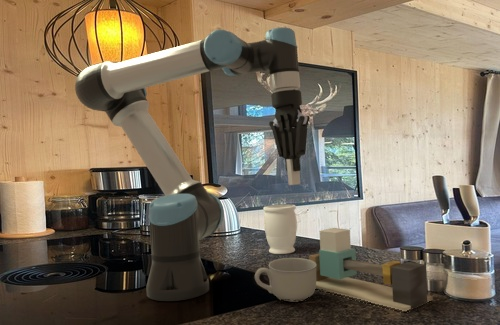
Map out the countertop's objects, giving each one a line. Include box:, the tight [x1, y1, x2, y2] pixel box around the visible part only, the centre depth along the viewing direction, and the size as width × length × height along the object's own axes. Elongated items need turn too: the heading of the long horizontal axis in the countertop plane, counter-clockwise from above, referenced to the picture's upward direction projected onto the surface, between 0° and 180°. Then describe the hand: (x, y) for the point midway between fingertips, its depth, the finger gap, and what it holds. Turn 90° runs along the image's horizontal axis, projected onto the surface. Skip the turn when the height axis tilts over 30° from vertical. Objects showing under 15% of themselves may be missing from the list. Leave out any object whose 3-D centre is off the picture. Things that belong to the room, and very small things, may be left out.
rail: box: [308, 252, 434, 311], centre depth 105 cm, size 10×28×8 cm, turn 38°
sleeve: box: [318, 227, 358, 280], centre depth 111 cm, size 6×6×10 cm
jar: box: [263, 203, 298, 255], centre depth 153 cm, size 11×10×15 cm
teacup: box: [254, 257, 317, 301], centre depth 105 cm, size 14×11×8 cm
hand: (294, 184), depth 118 cm, fingers closed
